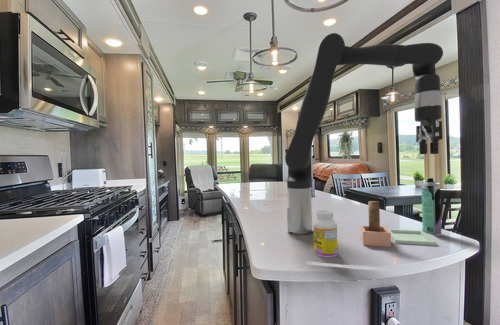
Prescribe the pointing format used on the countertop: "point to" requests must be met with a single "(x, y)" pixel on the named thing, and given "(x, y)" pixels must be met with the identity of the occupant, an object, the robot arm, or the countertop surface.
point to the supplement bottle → (325, 234)
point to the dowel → (374, 216)
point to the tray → (411, 237)
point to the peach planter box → (375, 237)
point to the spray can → (431, 208)
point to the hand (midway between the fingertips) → (428, 154)
